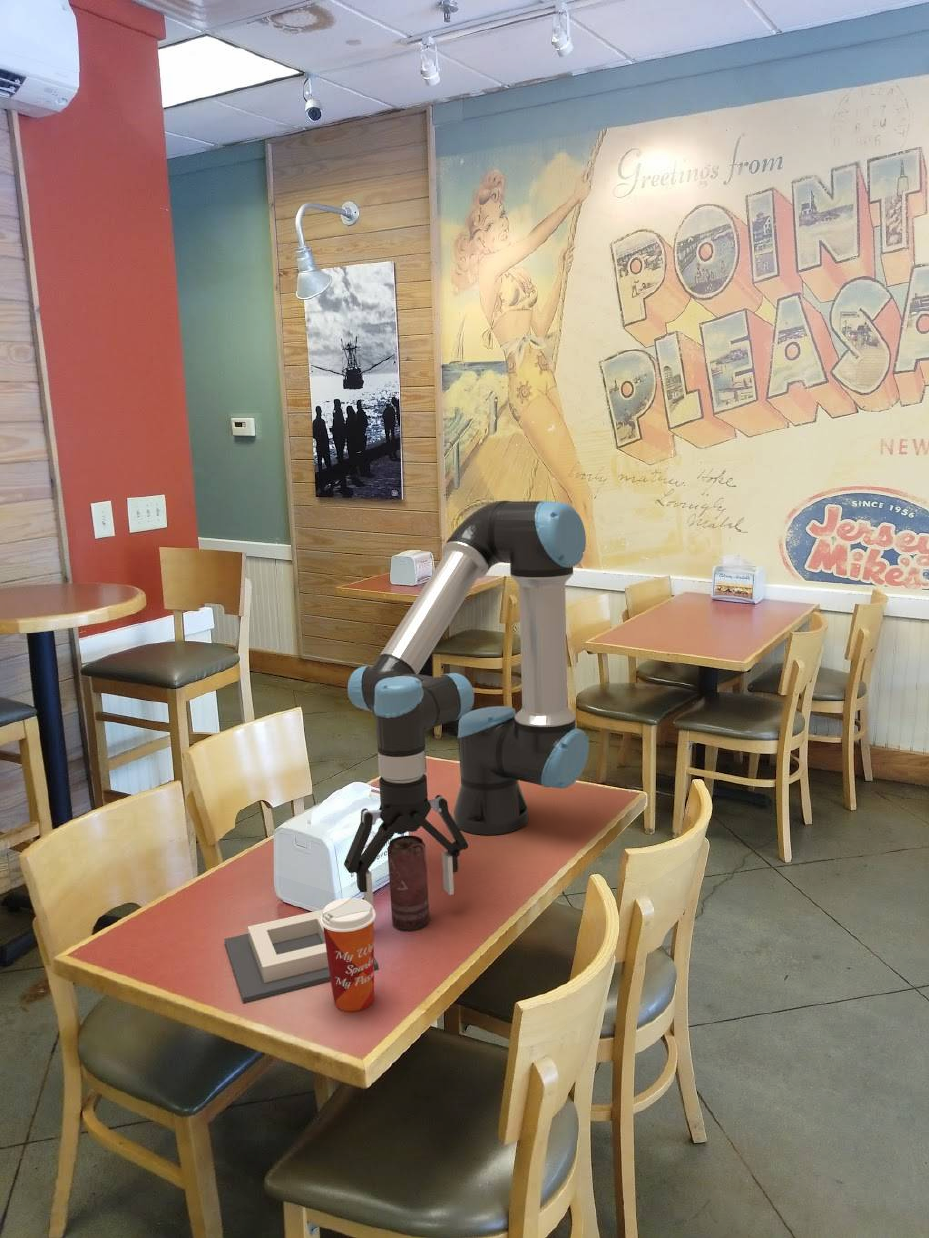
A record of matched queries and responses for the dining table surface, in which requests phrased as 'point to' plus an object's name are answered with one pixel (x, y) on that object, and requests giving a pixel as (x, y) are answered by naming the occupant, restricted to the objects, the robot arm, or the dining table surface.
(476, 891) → the dining table surface
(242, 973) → the mat
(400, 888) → the can
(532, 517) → the robot arm
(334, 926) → the paper cup
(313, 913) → the holder
